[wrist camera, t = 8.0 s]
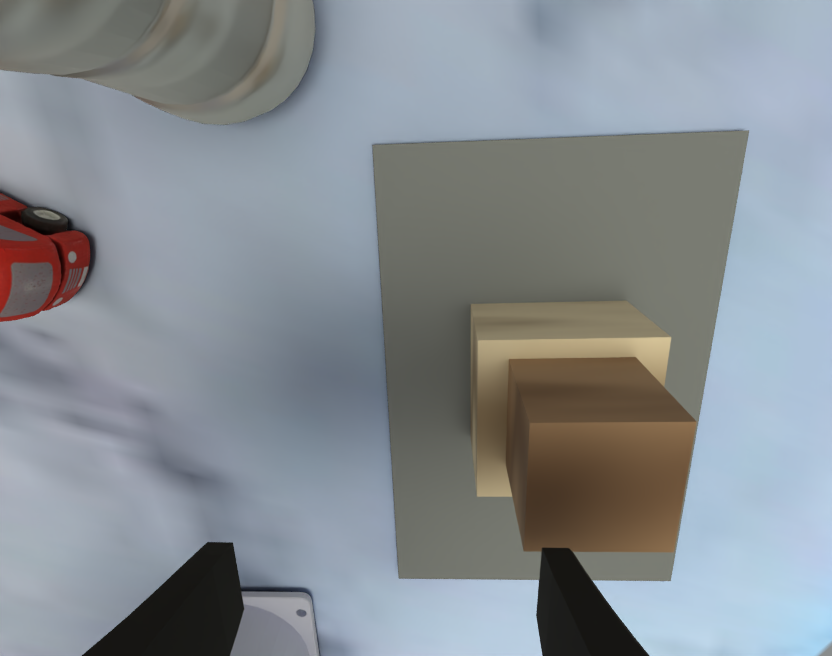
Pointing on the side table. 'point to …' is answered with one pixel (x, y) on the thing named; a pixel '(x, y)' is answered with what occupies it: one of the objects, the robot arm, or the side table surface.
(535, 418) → the walnut block
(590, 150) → the grey flat rectangular panel
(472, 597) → the side table surface
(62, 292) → the toy fire truck
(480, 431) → the birch base block
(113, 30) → the plastic bottle
